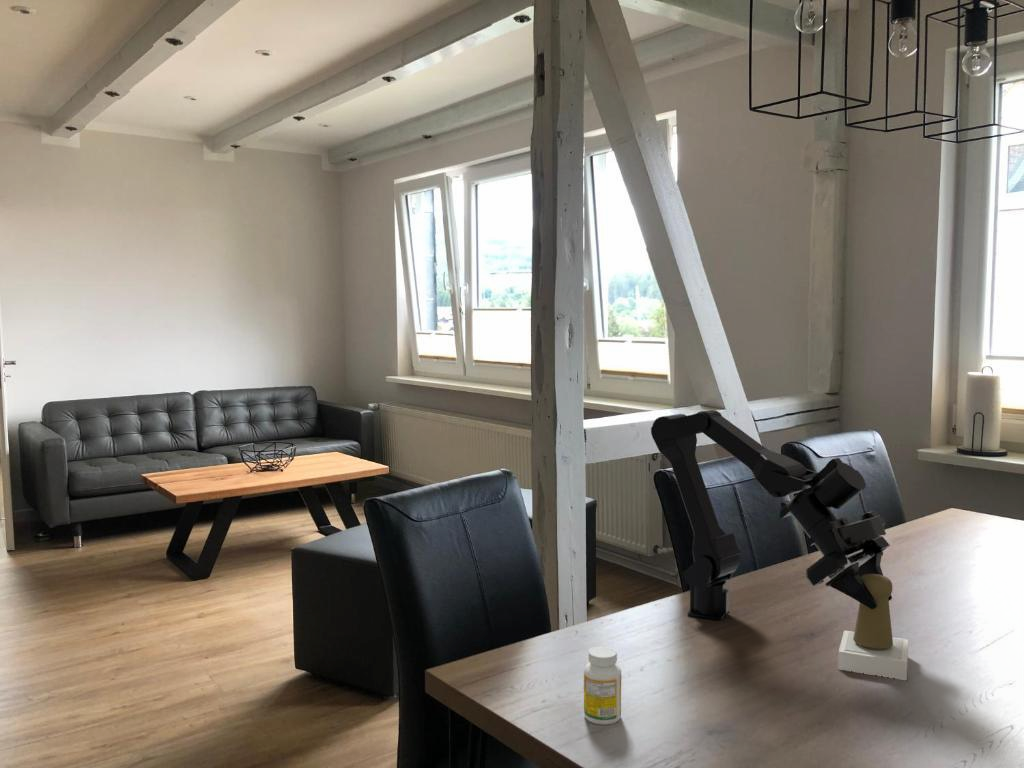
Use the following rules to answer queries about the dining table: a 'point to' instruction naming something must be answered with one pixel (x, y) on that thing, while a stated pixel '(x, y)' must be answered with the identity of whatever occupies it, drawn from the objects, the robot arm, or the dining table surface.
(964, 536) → the dining table surface
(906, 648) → the tray
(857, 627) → the cork
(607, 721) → the supplement bottle
